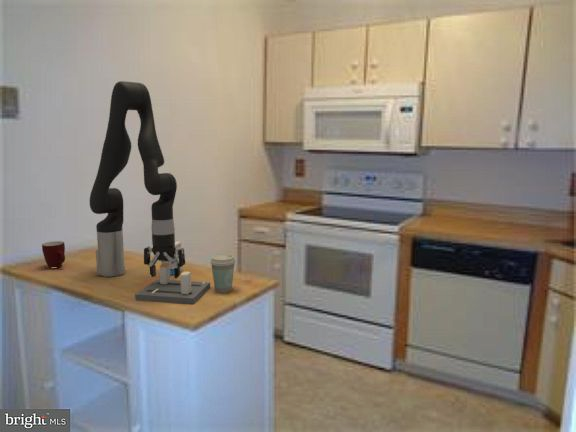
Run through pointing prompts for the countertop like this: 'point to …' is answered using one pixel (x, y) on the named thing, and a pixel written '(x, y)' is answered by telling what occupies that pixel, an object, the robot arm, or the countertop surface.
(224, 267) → the coffee cup
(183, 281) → the fader
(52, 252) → the mug
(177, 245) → the ink box
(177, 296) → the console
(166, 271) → the fader
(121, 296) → the countertop surface
